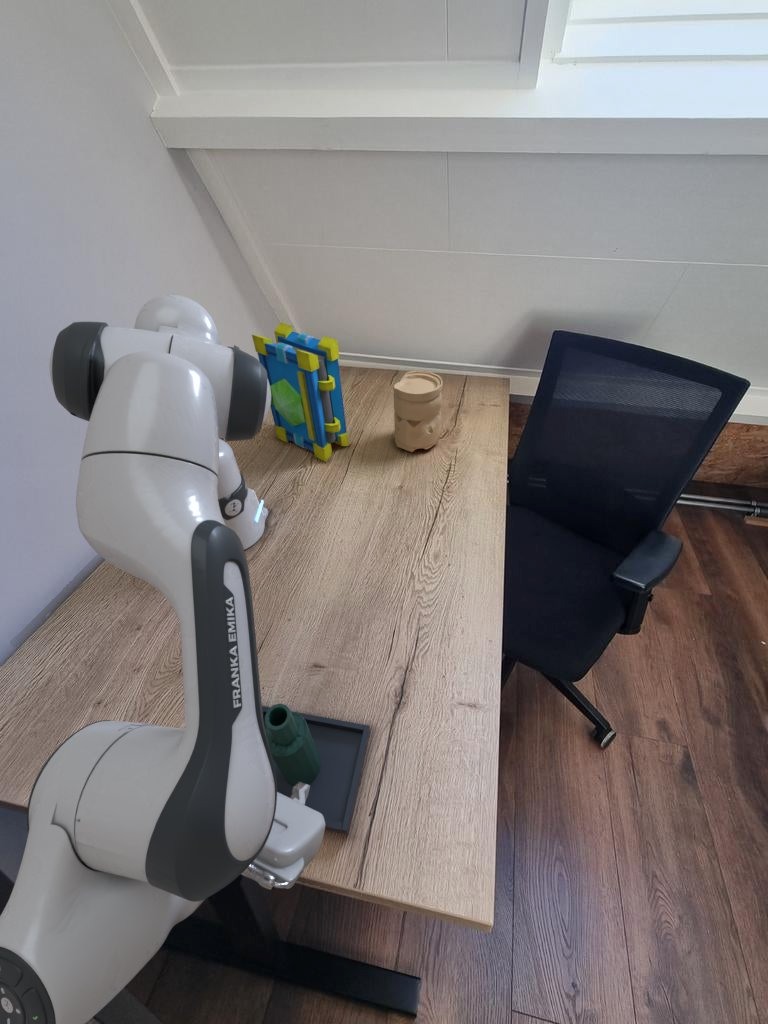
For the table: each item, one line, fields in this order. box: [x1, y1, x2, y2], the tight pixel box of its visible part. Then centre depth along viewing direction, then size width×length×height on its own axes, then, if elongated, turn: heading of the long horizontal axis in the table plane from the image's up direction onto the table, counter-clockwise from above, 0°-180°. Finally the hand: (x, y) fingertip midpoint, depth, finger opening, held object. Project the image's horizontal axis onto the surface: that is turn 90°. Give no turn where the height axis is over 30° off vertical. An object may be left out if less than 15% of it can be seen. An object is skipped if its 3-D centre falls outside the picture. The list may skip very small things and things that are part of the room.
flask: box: [265, 703, 320, 786], centre depth 60 cm, size 6×6×17 cm
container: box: [392, 370, 444, 453], centre depth 121 cm, size 13×13×18 cm
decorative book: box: [251, 322, 350, 463], centre depth 119 cm, size 14×23×30 cm, turn 50°
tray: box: [262, 705, 371, 836], centre depth 66 cm, size 18×14×2 cm
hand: (270, 772), depth 56 cm, fingers open, 8 cm apart
